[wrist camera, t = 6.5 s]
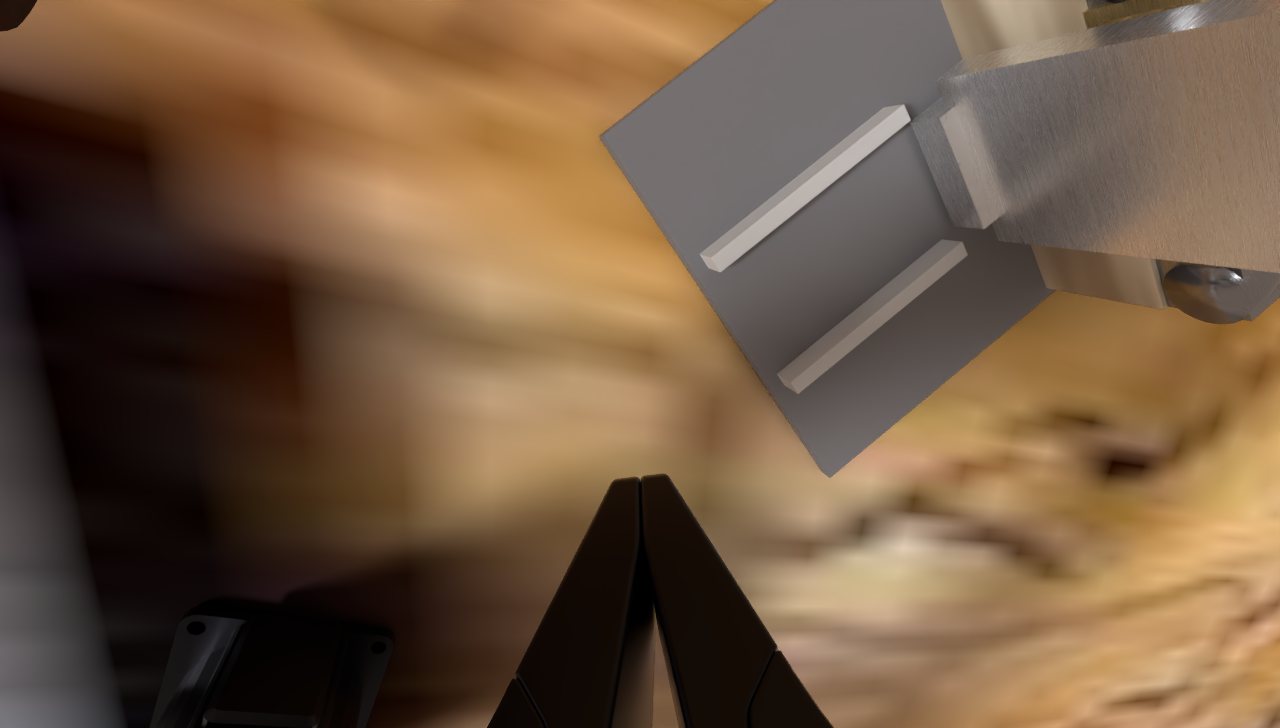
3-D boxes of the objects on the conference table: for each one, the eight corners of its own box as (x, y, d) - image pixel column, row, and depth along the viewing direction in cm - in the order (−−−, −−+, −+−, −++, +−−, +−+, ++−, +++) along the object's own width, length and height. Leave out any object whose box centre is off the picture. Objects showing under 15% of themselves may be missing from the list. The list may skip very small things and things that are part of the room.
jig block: (1046, 288, 25) (1163, 309, 21) (909, -85, 19) (1036, -159, 15) (1088, 252, 25) (1213, 267, 21) (966, -130, 19) (1107, -215, 15)
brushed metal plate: (962, 247, 23) (1309, 294, 14) (898, 95, 20) (1271, 27, 11) (1083, 149, 23) (1502, 130, 14) (1035, -13, 21) (1508, -169, 11)
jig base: (821, 471, 25) (844, 489, 24) (598, 136, 19) (610, 132, 17) (1086, 251, 26) (1124, 256, 24) (959, -143, 20) (1000, -169, 18)
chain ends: (1164, 314, 21) (1263, 332, 18) (1033, -168, 15) (1155, -240, 12) (1214, 272, 21) (1319, 284, 19) (1105, -223, 15) (1241, -307, 12)
